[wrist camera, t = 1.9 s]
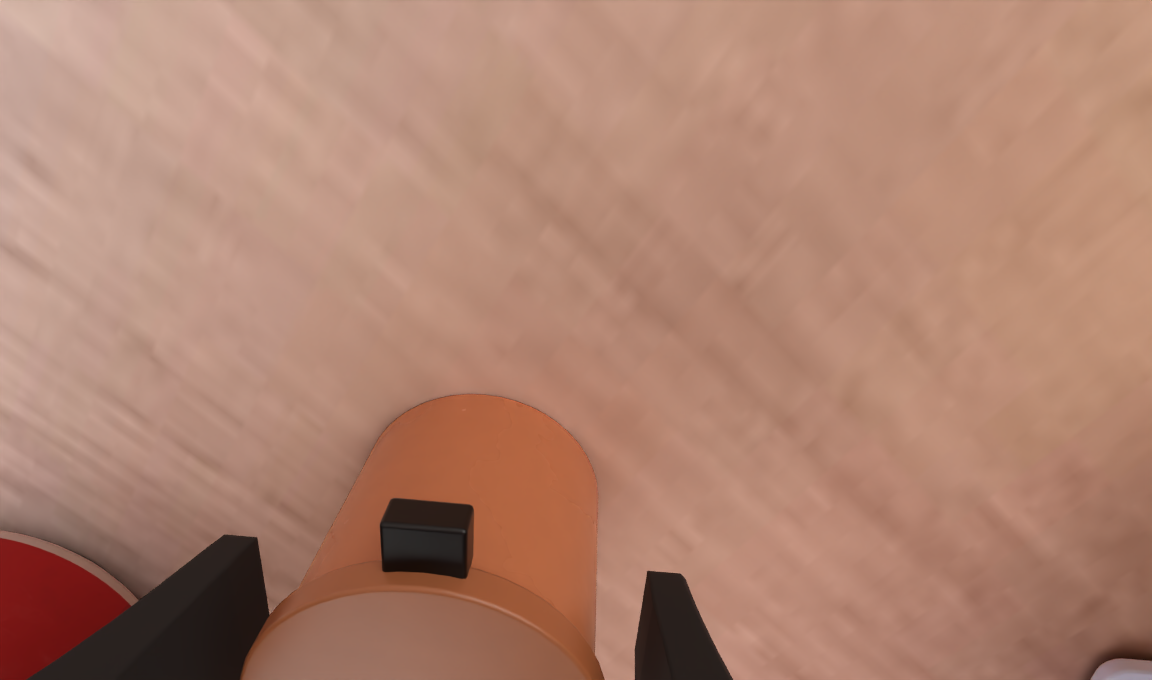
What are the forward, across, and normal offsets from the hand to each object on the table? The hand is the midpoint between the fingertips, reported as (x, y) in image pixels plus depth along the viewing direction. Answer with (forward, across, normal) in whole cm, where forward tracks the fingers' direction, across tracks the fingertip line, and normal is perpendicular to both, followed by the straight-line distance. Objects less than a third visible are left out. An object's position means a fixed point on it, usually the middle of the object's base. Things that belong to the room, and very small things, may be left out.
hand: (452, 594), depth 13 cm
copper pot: (+3, 0, 0) cm, 3 cm away
